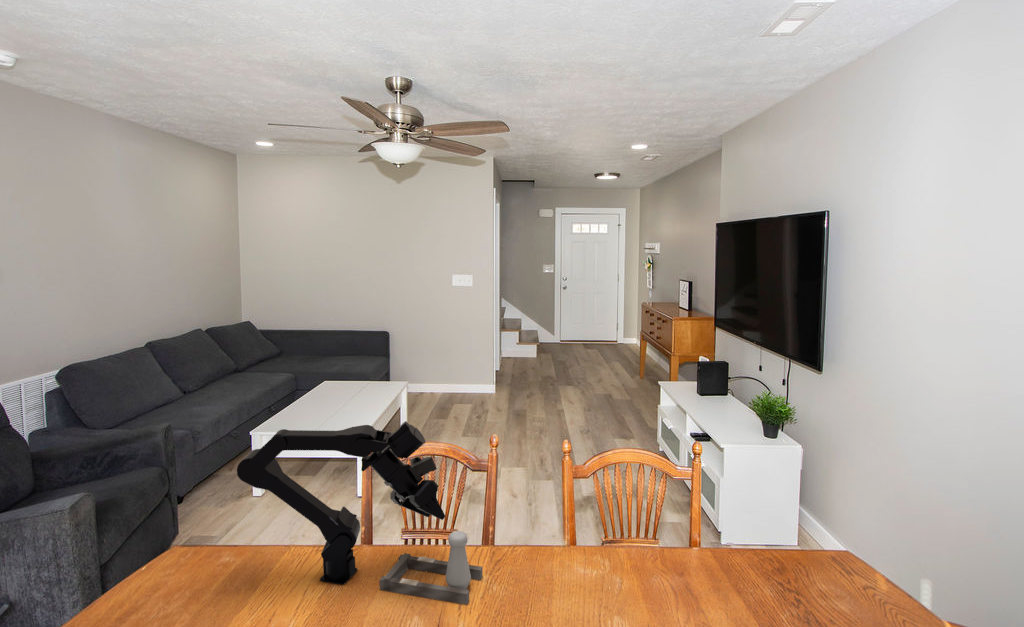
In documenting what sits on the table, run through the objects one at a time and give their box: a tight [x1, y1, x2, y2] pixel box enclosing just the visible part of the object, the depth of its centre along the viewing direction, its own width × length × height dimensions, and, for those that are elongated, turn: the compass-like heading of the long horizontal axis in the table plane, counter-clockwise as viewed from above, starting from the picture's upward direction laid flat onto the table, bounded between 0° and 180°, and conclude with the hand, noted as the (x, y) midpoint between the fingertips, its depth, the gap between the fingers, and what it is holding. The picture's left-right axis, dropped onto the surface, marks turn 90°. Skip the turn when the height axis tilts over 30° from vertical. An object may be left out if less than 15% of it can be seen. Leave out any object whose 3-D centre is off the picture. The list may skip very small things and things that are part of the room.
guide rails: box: [378, 552, 483, 605], centre depth 133 cm, size 21×11×3 cm, turn 75°
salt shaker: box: [445, 530, 472, 590], centre depth 130 cm, size 6×6×13 cm
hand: (436, 516), depth 136 cm, fingers open, 9 cm apart
